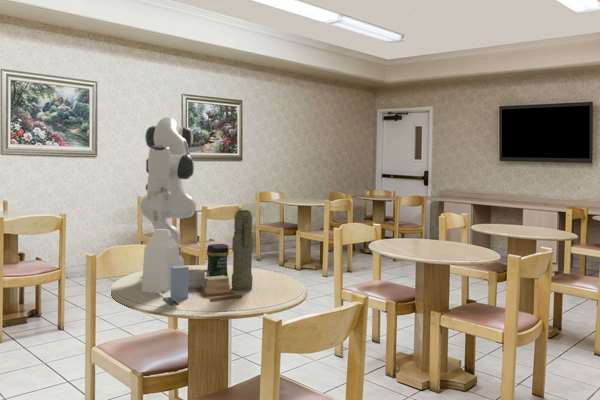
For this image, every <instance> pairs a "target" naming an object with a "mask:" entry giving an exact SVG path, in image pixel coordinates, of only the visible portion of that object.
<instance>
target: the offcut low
mask: <svg viewBox="0 0 600 400" xmlns="http://www.w3.org/2000/svg"><path fill="white" fill-rule="evenodd" d="M230 286H231V284H229V285H222V286H212V287H208V286H206V285H204V284H203V287H202V288H203V292H204V293H206V294H214V293H223V292H230V291H231V287H230Z"/></svg>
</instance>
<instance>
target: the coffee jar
mask: <svg viewBox="0 0 600 400" xmlns="http://www.w3.org/2000/svg"><path fill="white" fill-rule="evenodd" d="M206 249H207V250H206V254H207V255H206V256H207V269H206V270H208V271H209V277H213V276H226V277H228V278H229V276H228V256H229V252H230V251H229V245H228V244H227V243H226V244H225V243H212V244H208V245H207V248H206Z"/></svg>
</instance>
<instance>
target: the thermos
mask: <svg viewBox="0 0 600 400" xmlns="http://www.w3.org/2000/svg"><path fill="white" fill-rule="evenodd" d="M233 223H234V225H233V226H234V228H233V229H234V232H233V237H232V253H233V255H232V256H233V259H232V260H233V262H232V273H231V274H232V275H231V290H233V291H237V292H238V291H239V292H248V291H251V290H252V288H253V274H252V263H253V262H252V260H253V258H252V257H253V251H254V237H253V230H252V229H253V216H252V213H251V211H250V210H246V209H238V210H237V211H235V215H234V222H233Z"/></svg>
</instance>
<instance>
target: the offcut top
mask: <svg viewBox="0 0 600 400" xmlns="http://www.w3.org/2000/svg"><path fill="white" fill-rule="evenodd" d="M204 285H206V286H208V287H212V286H222V285H230V277H229V276H228V277H226V276H213V277H206V276H205V277H204Z"/></svg>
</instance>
